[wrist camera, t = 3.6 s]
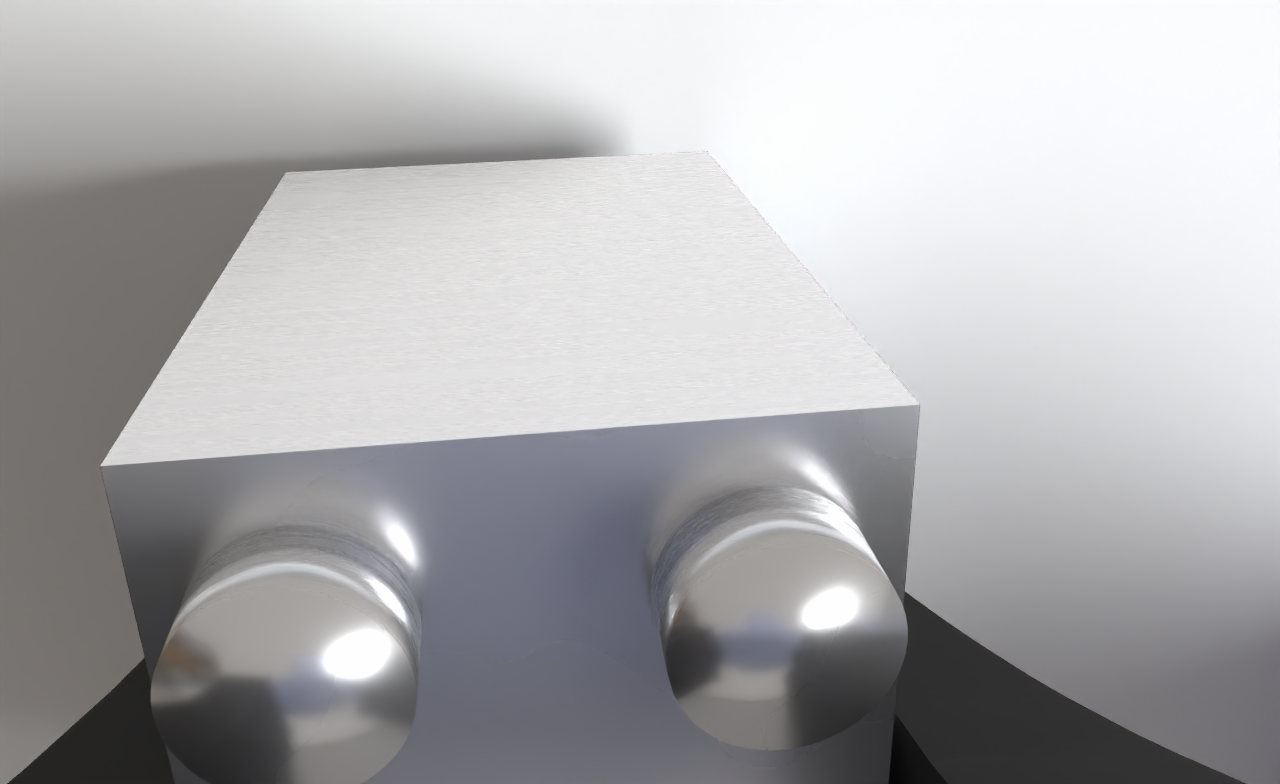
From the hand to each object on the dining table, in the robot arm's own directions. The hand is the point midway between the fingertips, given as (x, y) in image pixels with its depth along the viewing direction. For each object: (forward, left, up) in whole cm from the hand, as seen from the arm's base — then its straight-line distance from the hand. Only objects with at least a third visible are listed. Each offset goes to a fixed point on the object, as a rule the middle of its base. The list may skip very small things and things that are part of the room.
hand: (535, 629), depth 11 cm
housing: (0, 0, -2) cm, 2 cm away
